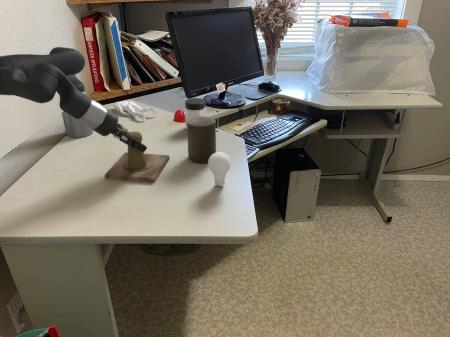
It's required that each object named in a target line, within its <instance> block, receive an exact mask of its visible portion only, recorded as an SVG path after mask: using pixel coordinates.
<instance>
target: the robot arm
mask: <svg viewBox="0 0 450 337" xmlns="http://www.w3.org/2000/svg"><path fill="white" fill-rule="evenodd" d="M85 65H86V59H85V57H84V55H83V54H82V53H81V52H80V51H79V50H77V49H75V48H70V47H63V46H56V47H54V48H52V49H51V50H50V52H49V54H34V53H33V54H31V53H29V54H28V53H26V54H25V53H23V54H21V53H20V54H19V53H18V54H17V53H16V54H7V55H0V96H14V97H15V96H16V97H18V98H22V99H26V100H28V101H31V102H34V103H37V104H46V103H50V102H51V101H52V100H53V99H54V98H55V95H56V93H57V95H59V103H58V104H59V108H60V110H61V117H62V121H63V125H64V129H65V133H66V136H69V137H71V138H84V137H88V136H90V135H92V134H93V133H94V132H95V133H97V134H98V135H100V136H102V137H107V136H109V135H110V134H111V135H112V136H113V138H115V139H117V140H119V142H122V143H123V144H125V145H127V146H128V145H129V146H130V147H132V148H134V149H135V148H136V149H138V150H139V151H141V152H144V153H145V152H146V150H147V149H148V146H146V145H145V144H143V142H141V143H140V142H139V141H138V140H136V139H135V138H134V137H133V135H132V134H131V133H129V132H130V131H129V130H128V129H127V128H126V127H125V126H124V125H122V123H119V116H118V115H117V114H116V113H115V112H113V111H111V110H110V109H109V108H107V107H106V106H104V105H103V104H101V103H100V102H98V101H96V100H95V99H92V98H91V97H89V96H88V95H87V93H86V88H85V84H84V83H83V82H82V81H81V80H80V79H79V78H78V77H77V76H76V75H77V74H79V73H81V72H82V71H83V70H84V69H85ZM132 141H134V142H133V143H132V144H131V142H132Z"/></svg>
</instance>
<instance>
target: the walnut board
mask: <svg viewBox="0 0 450 337" xmlns="http://www.w3.org/2000/svg"><path fill="white" fill-rule="evenodd" d="M144 156H145V159H146V163H147V165H146V166H145V167H143V168H139V169H131V168H129V167H128V151H127V152H124V153H123V154H122V155H121V156H120V157H119V158H118V159H117V160H116V162H115V163H114V164H113V165H112V166H111V167H110V168H109V169H108V170H107V171H106V173H105V174H104V178H105V179H106V180H116V181H117V180H119V181H120V180H121V181H130V182H141V183H142V182H143V183H156V182H157V180H158V178H159V177H160V175H161V173H162V172H163V170H164V168H166V165H168V163H169V161H170V155H168V154H156V153H144Z"/></svg>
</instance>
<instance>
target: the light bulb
mask: <svg viewBox="0 0 450 337" xmlns="http://www.w3.org/2000/svg"><path fill="white" fill-rule="evenodd" d="M231 165H232V162H231V158H230V156H229V155H228V154H227V153H225V152H221V151H216V153H214V154H212V155H211V156H210V158H209V161H208V163H207V166H208V169H209V170H210V172H211V173H212V175H213V179H214V185H215V186H216V187H223V186H224V185H225V182H226V181H225V179H226V176H227V173H228V172H229V171H230V169H231Z"/></svg>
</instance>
